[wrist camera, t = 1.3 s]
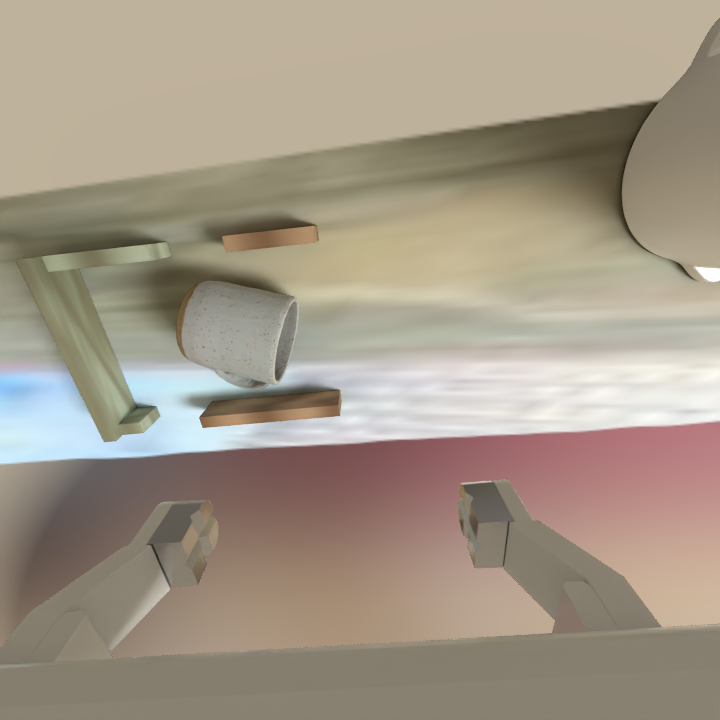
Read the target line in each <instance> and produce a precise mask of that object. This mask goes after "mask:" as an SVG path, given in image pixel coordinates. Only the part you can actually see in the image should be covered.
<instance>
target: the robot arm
mask: <svg viewBox="0 0 720 720" xmlns="http://www.w3.org/2000/svg"><path fill="white" fill-rule="evenodd" d="M622 204H623V211H624V216H625V219H626V222H627V224H628V227H629V229H630V231H631V233H632V234H633V236H634V237H635V238H636V240H637V241H638V242H639V243H640V244H641V245H642V246H643V247H645V248H646V249H647V250H649V251H650V252H652V253H654V254H656V255H658V256H661V257H664V258H667V259H670V260H673V261H676V262H678V263H680V264H681V265H682V266H683V268H684V269H685V270H686V271H687V273H688V274H689V275H690V276H691V277H692V278H694V279H695V280H697V281H700V282H717V281H720V18H719V19H718V20H717V21H716V22H715V24H714V25H713V26H712V28H711V29H710V31H709V32H708V34H707V36H706V37H705V39H704V41H703V43H702V44H701V46H700V48H699V50H698V52H697V54H696V56H695V58H694V60H693V62H692V64H691V66H690V67H689V69H688V70H687V71H686V73H685V74H684V75H683V76H682V77H681V78H680V80H679V81H678V82H677V83H676V84H675V85H674V86H673V87H672V88H671V89H670V90H669V91H668V93H667V94H666V95H665V96H664V97H663V98H662V99H661V100H660V101H659V103H658V104H657V105H656V106H655V108H654V109H653V110H652V112H651V113H650V115H649V116H648V118H647V119H646V121H645V122H644V124H643V126H642V127H641V129H640V131H639V133H638V135H637V137H636V139H635V141H634V143H633V146H632V148H631V151H630V154H629V156H628V159H627V163H626V167H625V171H624V176H623V184H622ZM459 495H460V497H461V501H460V502H459V503H458V515H459V522H460V526H461V529H462V533H463V535H464V536H465V537H467V538H468V550H469V553H470V556H471V559H472V562H473V565H474V568H495V567H504V570H505V571H506V572H507V573H508V574H509V575H510V576H511V577H512V578H513V579H514V580H515V581H516V582H517V583H518V584H519V585H520V586H521V587H522V588H524V590H525V591H526V592H527V593H528V594H529V595H530V596H532V598H533V599H534V600H535V601H536V602H537V603H538V604H539V605H540V606H541V607H542V608H543V609H544V610H545V611H546V612H547V613H548V614H549V615H550V616H551V617H552V618H553V619H554V620H555V623H554V627H553V632H552V633H550V634H531V635H514V636H498V637H497V636H496V637H478V638H462V639H461V638H460V639H443V640H425V641H410V642H409V641H408V642H391V643H374V644H357V645H340V646H322V647H304V648H286V649H268V650H250V651H234V652H233V651H232V652H214V653H197V654H181V655H180V654H179V655H161V656H143V657H127V658H114V657H113V656H112V654H111V652H110V651H111V650H112V649H113V648H114V647H115V646H116V645H117V644H118V643H119V642H120V641H121V640H122V639H123V638H124V637H125V636H126V635H127V634H128V633H129V632H130V631H131V630H132V629H133V627H134V626H135V625H136V624H137V623H138V622H139V621H140V620H141V619H142V618H143V617H144V616H145V615H146V614H147V613H148V612H149V611H150V610H151V609H152V608H153V607H154V606H155V604H156V603H158V601H159V600H160V599H161V598H162V597H163V596H164V595H165V594H166V593H167V592H168V591H169V590H170V588H171V587H182V586H192V585H198V584H199V582H200V580H201V578H202V575H203V573H204V571H205V568H206V566H207V561H206V557H207V556H208V555H209V554H210V553H211V552H212V551H213V550H214V548H215V545H216V543H217V538H218V532H219V531H218V523H217V520H216V518H214V517H213V516H212V515H210V514H211V512H212V510H213V507H212V505H211V502H210V501H208V500H197V501H177V502H162V503H160V504H159V505H157V507H156V508H155V509H154V511H153V512H152V514H151V515H150V517H149V518H148V519H147V521H146V522H145V524H144V525H143V526H142V528H141V529H140V531H139V532H138V533H137V535H136V536H135V538H134V539H133V540H132V542H131V543H130V545H129V546H126V547H122V548H121V549H119V550H118V551H117V552H115V553H114V554H112V555H111V556H109V557H108V558H107V559H105V560H104V561H102V562H101V563H100V564H98V565H97V566H95V567H94V568H92V569H91V570H90V571H88V572H87V573H85V574H84V575H82V576H81V577H79V578H78V579H77V580H75V581H74V582H72V583H71V584H70V585H68V586H67V587H65V588H64V589H62V590H61V591H60V592H58V593H57V594H55V595H54V596H52V597H51V598H50V599H48V600H47V601H45V602H44V603H42V604H41V605H40V606H39V607H37V608H35V609H34V610H32V611H31V612H30V613H29V614H28V615H27V617H26V618H25V619H24V620H23V621H22V623H21V624H20V625H19V626H18V627H17V629H16V630H15V631H14V632H13V633H12V635H11V636H10V637H9V638H8V639H7V640H6V642H5V643H4V644H3V645H2V647H1V648H0V720H720V624H708V625H691V626H673V627H661V625H660V624H659V623H658V622H657V620H656V619H655V618H654V616H653V615H652V613H651V612H650V611H649V609H648V608H647V607H646V606H645V604H644V603H643V602H642V600H641V599H640V598H639V596H638V595H637V594H636V592H635V591H634V590H633V588H632V587H631V586H630V584H629V583H628V582H627V580H626V579H625V578H624V577H623V576H622V575H620V574H619V573H617V572H616V571H614V570H613V569H611V568H610V567H608V566H607V565H605V564H603V563H602V562H601V561H599V560H598V559H596V558H595V557H593V556H592V555H590V554H589V553H587V552H586V551H584V550H583V549H581V548H579V547H578V546H576V545H575V544H573V543H572V542H570V541H569V540H567V539H566V538H564V537H563V536H561V535H560V534H558V533H557V532H555V531H554V530H552V529H551V528H549V527H548V526H546V525H545V524H543V523H542V522H540V521H538V520H536V521H535V520H533V519H532V517H531V516H530V514H529V512H528V511H527V509H526V507H525V506H524V504H523V502H522V501H521V499H520V498H519V496H518V494H517V492H516V491H515V489H514V487H513V486H512V484H511V483H510V481H509V480H507V479H506V480H493V481H483V482H482V481H481V482H468V483H460V485H459Z"/></svg>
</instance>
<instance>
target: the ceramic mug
mask: <svg viewBox="0 0 720 720" xmlns="http://www.w3.org/2000/svg"><path fill="white" fill-rule="evenodd" d="M298 317H299V302H298V300H297V298H295V297H293V296H289V295H284V294H279V293H274V292H270V291H265V290H261V289H256V288H250V287H245V286H241V285H237V284H233V283H229V282H223V281H203V282H200V283H198V284H196V285H195V286H194V287H193V288H192V289H191V290H190V291H189V292H188V294H187V295H186V296H185V298H184V300H183V302H182V305H181V307H180V310H179V314H178V318H177V325H176V337H177V343H178V346H179V349H180V351H181V352H182V354H183V355H184V356H185V357H186V358H187V359H189V360H190V361H192V362H195V363H197V364H199V365H202V366H205V367H208V368H212V369H214V370H215V371H216V373H217V374H218V375H219V376H220V377H221V378H223V379H224V380H226V381H227V382H229V383H231V384H233V385H235V386H238V387H241V388H244V389H250V390H259V389H263V388H265V387H267V386H268V385H269V384H273V385H275V384H278V383H279V382H280V381H281V380H282V378H283V376H284V373H285V371H286V368H287V366H288V363H289V360H290V357H291V353H292V350H293V346H294V341H295V336H296V332H297V326H298Z"/></svg>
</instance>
